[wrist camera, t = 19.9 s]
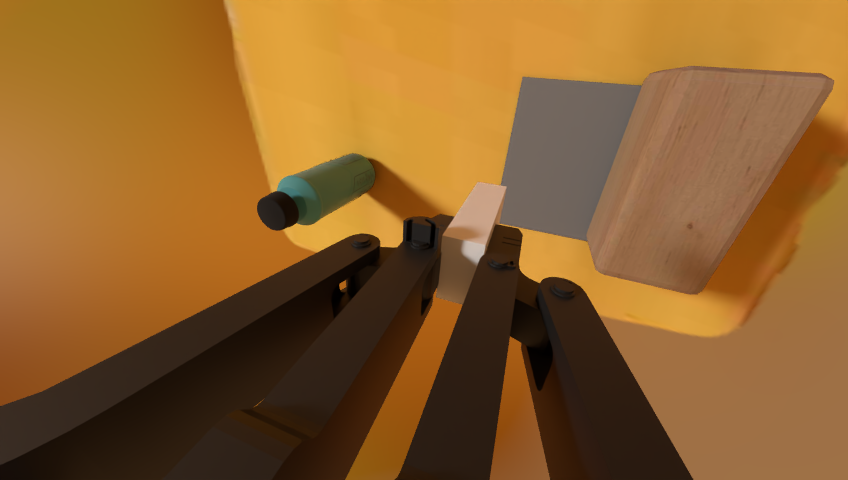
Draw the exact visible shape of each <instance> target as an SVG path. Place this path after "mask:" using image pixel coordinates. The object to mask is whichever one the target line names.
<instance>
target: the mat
mask: <svg viewBox="0 0 848 480" xmlns="http://www.w3.org/2000/svg"><path fill="white" fill-rule="evenodd" d="M641 87H642V86H638V85H625V84H611V83H598V82H584V81H571V80H557V79H543V78H530V77H523V78H522V83H521V88H520V93H519V98H518V103H517V108H516V113H515V118H514V123H513V128H512V133H511V138H510V143H509V148H508V153H507V158H506V163H505V168H504V173H503V178H502V183H501V186H506V187H507V188H506V193H505V198H504V203H503V207H502V212H501V217H500V222H499V223H501V224H506V225H511V226H516V227H521V228H526V229H530V230H535V231H540V232H545V233H550V234H555V235H560V236H565V237H570V238H575V239H579V240H584V241H587V235H586V234H587V231H588V229H589V226H590V223H591V221H592V218H593V215H594V213H595V210H596V207H597V205H598V202H599V199H600V197H601V194H602V191H603V189H604V186H605V183H606V181H607V178H608V175H609V173H610V170H611V167H612V165H613V162H614V159H615V157H616V154H617V151H618V149H619V146H620V143H621V141H622V138H623V135H624V133H625V130H626V127H627V125H628V122H629V119H630V117H631V114H632V111H633V109H634V106H635V103H636V101H637V98H638V95H639V93H640V90H641Z"/></svg>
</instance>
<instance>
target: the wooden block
mask: <svg viewBox="0 0 848 480" xmlns="http://www.w3.org/2000/svg"><path fill="white" fill-rule="evenodd" d="M833 84H834V80H832V79H831V78H829V77H827V76H825V75H823V74H820V73H803V72H786V71H769V70H752V69H735V68H717V67H700V66H689V67H682V68H676V69H669V70H663V71H658V72H654V73H651V74H649V76H648V77H647V78H646V79H645V80H644V82H643V85H642V87H641V90H640V93H639V95H638V98H637V101H636V103H635V106H634V109H633V111H632V114H631V117H630V119H629V122H628V125H627V127H626V130H625V133H624V135H623V138H622V141H621V143H620V146H619V149H618V151H617V154H616V157H615V159H614V162H613V165H612V167H611V170H610V173H609V175H608V178H607V181H606V183H605V186H604V189H603V191H602V194H601V197H600V199H599V202H598V205H597V207H596V210H595V213H594V215H593V218H592V221H591V223H590V226H589V229H588V231H587V234H586V235H587V241H588V244H589V248H590V251H591V255H592V258H593V262H594V265H595V269H596V270H597V271H598V272H600V273H602V274H604V275H608V276H612V277H617V278H621V279H625V280H630V281H634V282H638V283H643V284H647V285H651V286H656V287H660V288H664V289H669V290H673V291H677V292H682V293H686V294H698V293H699V292H701V291H702V290H703V288H704V287H705V285H706V284H707V282H708V281H709V279H710V278H711V276H712V275H713V273H714V271H715V270H716V268H717V267H718V265H719V264H720V262H721V261H722V259H723V258H724V256H725V255H726V253H727V251H728V250H729V248H730V247H731V245H732V244H733V242H734V241H735V239H736V238H737V236H738V234H739V233H740V231H741V230H742V228H743V227H744V225H745V224H746V222H747V221H748V219H749V217H750V216H751V214H752V213H753V211H754V210H755V208H756V207H757V205H758V204H759V202H760V201H761V199H762V197H763V196H764V194H765V193H766V191H767V190H768V188H769V187H770V185H771V184H772V182H773V180H774V179H775V177H776V176H777V174H778V173H779V171H780V170H781V168H782V167H783V165H784V164H785V162H786V160H787V159H788V157H789V156H790V154H791V153H792V151H793V150H794V148H795V147H796V145H797V143H798V142H799V140H800V139H801V137H802V136H803V134H804V133H805V131H806V130H807V128H808V126H809V125H810V123H811V122H812V120H813V119H814V117H815V116H816V114H817V113H818V111H819V110H820V108H821V106H822V105H823V103H824V102H825V100H826V99H827V97H828V96H829V94H830V93H831V91H832V89H833Z"/></svg>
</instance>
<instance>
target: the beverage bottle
mask: <svg viewBox="0 0 848 480" xmlns="http://www.w3.org/2000/svg"><path fill="white" fill-rule="evenodd" d="M374 181H375V172H374V168H373V166H372V164H371V163H370V161H369V160H368V159H367V158H365V157H364V156H362V155H359V154H353V153H352V154H349V155H346V156H344V155H343V157H341V158H338V159H335V160H332V161H331V160H330V161H329V162H326V163H322V164H320V165H318V166H315V167H314V166H313V168H310V169H308V170H305V171H302V172H300V173H297V174H294V175H290V176H287V177H285V178H283V179H282V180H281V181H280V183H279V185H278V188H277V191H275V192H273V193H271V194H269V195H268V196H265V197H263V198H262V199H261V200H260V201H259V202H258V205H257V211H258V215H259V217H260V219H261V220H262V222H263V223H264V224H265V225H266V226H267V227H269V228H270V229H272V230H283V229H285V228H287V227H291V226H293V225H294V224H296V223H298V224H301V225H311V224H314V223H315V222H317V221H318V220H319V219H321V218H323V217H324V216H326V215H328V214H329V213H331V212H333V211H335V210H337V209H338V208H340V207H342V206H343V205H344V206H345V205H346V204H347V203H348V202H350V201H352V200H353V199H354V200H355V198H356V197H358V196H359V197H360V196H362V194H365V193H366V192H367V191H368V190H369V189H370V188H371V187H372V186H373V184H374ZM356 199H357V198H356ZM354 200H353V201H354ZM348 204H349V203H348Z"/></svg>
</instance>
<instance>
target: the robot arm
mask: <svg viewBox="0 0 848 480" xmlns="http://www.w3.org/2000/svg"><path fill="white" fill-rule="evenodd" d="M506 188H507V187H506V186H500V185H494V184H488V183H482V182H477V184H476V186H475V187H474V189H473V190H472V192H471V193H470V195H469V196H468V198H467V199H466V201H465V202H464V204H463V205H462V207H461V208H460V210H459V211H458V213H457V214H456V216H455V217H452V216H447V215H442V214H440V215H437V216H435V217H433V218H432V219H431V218H428V217H411V218H407V219H406V220H404V224H403V242H402V243H401V244H400V245H399V246H398V247H397V248H390V247H380V240H379V239H378V238H377V237H375V236H373V235H369V234H356V235H352V236H350V237H347V238H345V239H343V240H341V241H339V242H337V243H335V244H333V245H331V246H329V247H327V248H325V249H323V250H322V251H320V252H318V253H316V254H314V255H312V256H310V257H308V258H306V259H304V260H302V261H300V262H298V263H296V264H294V265H292V266H290V267H288V268H286V269H284V270H282V271H280V272H278V273H276V274H274V275H272V276H270V277H268V278H266V279H264V280H262V281H260V282H258V283H256V284H254V285H252V286H250V287H248V288H246V289H244V290H242V291H240V292H238V293H236V294H234V295H232V296H231V297H228V298H227V299H225V300H223V301H221V302H219V303H217V304H215V305H213V306H211V307H209V308H207V309H205V310H203V311H201V312H199V313H197V314H195V315H193V316H191V317H189V318H187V319H185V320H183V321H181V322H179V323H177V324H175V325H173V326H171V327H169V328H167V329H165V330H163V331H161V332H159V333H157V334H156V335H153V336H151V337H149V338H147V339H145V340H144V341H142V342H140V343H138V344H135V345H134V346H132V347H130V348H128V349H126V350H124V351H122V352H120V353H118V354H116V355H114V356H112V357H110V358H108V359H106V360H104V361H102V362H100V363H98V364H96V365H94V366H92V367H90V368H88V369H86V370H84V371H82V372H81V373H78V374H76V375H74V376H72V377H70V378H69V379H66V380H64V381H62V382H60V383H58V384H56V385H54V386H52V387H50V388H48V389H46V390H44V391H42V392H40V393H37V394H34V395H31V396H28V397H26V398H23V399H20V400H17V401H14V402H11V403H8V404H6V405H3V406H0V480H345V479H346V477H347V475H348V473H349V471H350V469H351V467H352V465H353V463H354V461H355V459H356V457H357V455H358V453H359V450H360V449H361V447H362V445H363V443H364V441H365V439H366V437H367V434H368V433H369V431H370V429H371V427H372V425H373V423H374V420H375V419H376V417H377V415H378V413H379V411H380V408H381V407H382V404H383V403H384V401H385V399H386V396H387V395H388V393H389V390H390V389H391V387H392V385H393V382H394V381H395V378H396V377H397V375H398V373H399V370H400V368H401V366H402V364H403V362H404V360H405V358H406V356H407V354H408V352H409V350H410V348H411V346H412V344H413V342H414V340H415V338H416V336H417V334H418V332H419V330H420V328H421V326H422V324H423V322H424V320H425V318H426V316H427V314H428V312H429V310H430V308H431V306H432V302H433V294H434V292H435V290H436V288H437V293H436V297H438V298H441V299H444V300H448V301H452V302H455V303H459V304H462V305H463V306H462V308H461V311H460V314H459V316H458V319H457V322H456V324H455V327H454V330H453V332H452V335H451V338H450V340H449V343H448V346H447V348H446V351H445V354H444V357H443V359H442V362H441V365H440V368H439V370H438V373H437V375H436V378H435V381H434V384H433V386H432V389H431V392H430V394H429V397H428V400H427V402H426V405H425V408H424V410H423V413H422V416H421V418H420V421H419V424H418V426H417V429H416V432H415V435H414V437H413V440H412V443H411V445H410V448H409V451H408V453H407V456H406V459H405V461H404V464H403V467H402V469H401V471H400V473H399V475H398V477H397V478H396V479H395V480H489V479H490V472H491V465H492V458H493V451H494V444H495V437H496V430H497V423H498V415H499V409H500V402H501V395H502V388H503V381H504V374H505V367H506V359H507V352H508V345H509V338H510V336H511V337H512V338H514V339H516V340H518V341H519V342H521V350H522V354H523V359H524V364H525V368H526V373H527V377H528V381H529V386H530V391H531V395H532V399H533V403H534V409H535V413H536V417H537V422H538V427H539V431H540V436H541V440H542V445H543V449H544V453H545V458H546V462H547V467H548V471H549V476H550V480H693V478H692V477H691V475H690V473H689V471H688V470H687V468H686V466H685V464H684V463H683V461H682V459H681V457H680V456H679V454H678V452H677V451H676V449H675V447H674V445H673V444H672V442H671V440H670V438H669V437H668V435H667V433H666V431H665V430H664V428H663V426H662V425H661V423H660V421H659V419H658V418H657V416H656V414H655V412H654V411H653V409H652V407H651V405H650V404H649V402H648V400H647V398H646V397H645V395H644V393H643V392H642V390H641V388H640V386H639V385H638V383H637V381H636V379H635V378H634V376H633V374H632V372H631V371H630V369H629V367H628V365H627V364H626V362H625V360H624V358H623V357H622V355H621V354H620V352H619V350H618V348H617V346H616V345H615V343H614V341H613V339H612V338H611V336H610V334H609V333H608V331H607V329H606V327H605V326H604V324H603V322H602V320H601V319H600V317H599V315H598V313H597V312H596V310H595V308H594V306H593V305H592V303H591V301H590V299H589V298H588V296H587V294H586V293H585V291H584V290H583V289H582V288H581V287H580V286H578V285H577V284H575V283H574V282H572V281H570V280H567V279H564V278H558V277H548V278H545V279H543V280H542V281H541V282H540V283H538V282H535V281H533V280H531V279H529V278H528V277H526V276H525V275H524V274H523V273H522V272H521V271H520V269H519V257H520V250H521V243H522V236H523V235H522V233H521V232H520V230H519V229H517V228H512V227H507V226H502V225H499V222H500V217H501V212H502V207H503V203H504V198H505V193H506ZM345 280H346V288H344V289H342V290H340V288H339V284H340V283H341V282H343V281H345ZM263 399H264V400H263ZM262 400H263V401H262ZM260 401H262V402H261V403H259V402H260ZM258 403H259V404H258ZM257 404H258V405H257ZM255 405H257V406H256V407H254V406H255ZM253 407H254V408H253Z"/></svg>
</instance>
